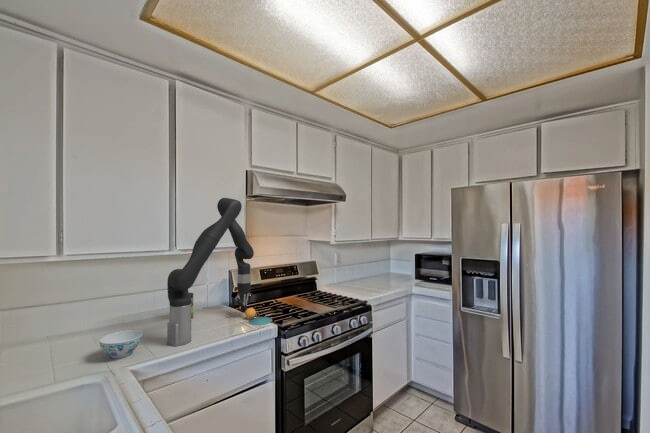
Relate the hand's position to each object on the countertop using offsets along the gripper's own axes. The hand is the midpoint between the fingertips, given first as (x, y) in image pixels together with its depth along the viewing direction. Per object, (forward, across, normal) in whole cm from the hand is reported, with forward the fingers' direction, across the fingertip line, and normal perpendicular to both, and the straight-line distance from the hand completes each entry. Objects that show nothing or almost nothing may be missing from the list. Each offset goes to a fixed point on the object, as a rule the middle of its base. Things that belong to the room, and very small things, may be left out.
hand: (243, 311), depth 179 cm
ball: (0, 0, -5) cm, 5 cm away
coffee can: (+4, -18, +28) cm, 34 cm away
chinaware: (+4, -62, +9) cm, 63 cm away
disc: (+3, 0, -12) cm, 13 cm away
